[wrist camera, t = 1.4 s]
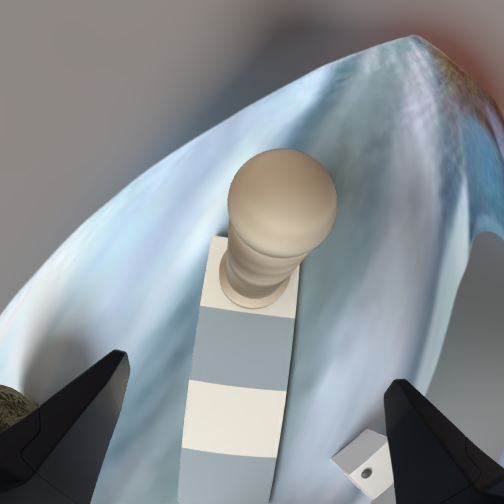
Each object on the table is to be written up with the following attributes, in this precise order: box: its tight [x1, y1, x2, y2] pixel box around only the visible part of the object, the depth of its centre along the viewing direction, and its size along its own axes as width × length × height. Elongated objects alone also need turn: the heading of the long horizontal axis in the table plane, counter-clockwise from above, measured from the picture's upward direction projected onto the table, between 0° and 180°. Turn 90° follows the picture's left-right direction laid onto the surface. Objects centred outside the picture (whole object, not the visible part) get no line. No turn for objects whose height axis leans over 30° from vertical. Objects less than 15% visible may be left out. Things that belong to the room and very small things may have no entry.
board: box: [177, 235, 300, 504], centre depth 20 cm, size 22×7×1 cm, turn 173°
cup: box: [0, 385, 38, 432], centre depth 13 cm, size 8×7×8 cm
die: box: [331, 428, 394, 500], centre depth 17 cm, size 4×4×4 cm
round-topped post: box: [219, 149, 338, 309], centre depth 15 cm, size 5×5×14 cm
